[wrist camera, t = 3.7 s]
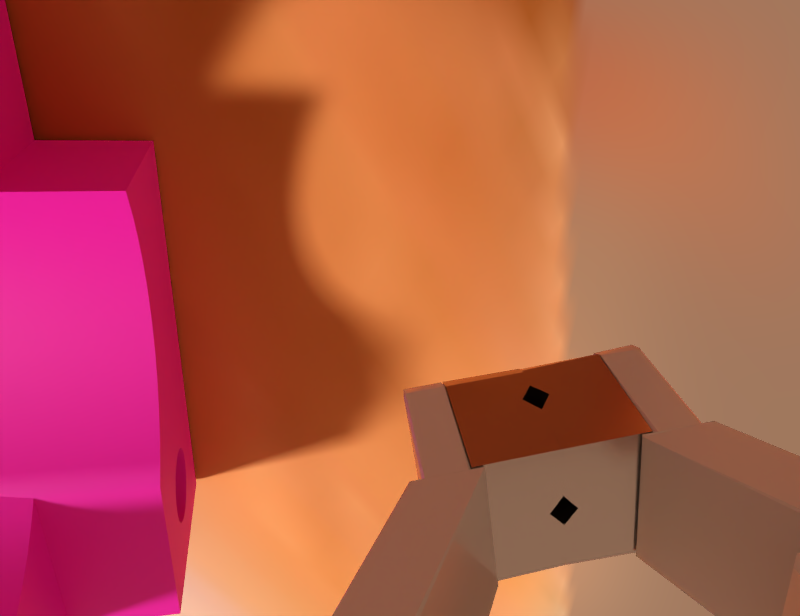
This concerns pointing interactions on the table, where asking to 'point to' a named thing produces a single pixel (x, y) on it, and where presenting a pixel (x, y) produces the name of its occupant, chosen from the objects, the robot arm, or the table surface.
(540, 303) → the table surface
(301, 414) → the table surface
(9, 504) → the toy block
